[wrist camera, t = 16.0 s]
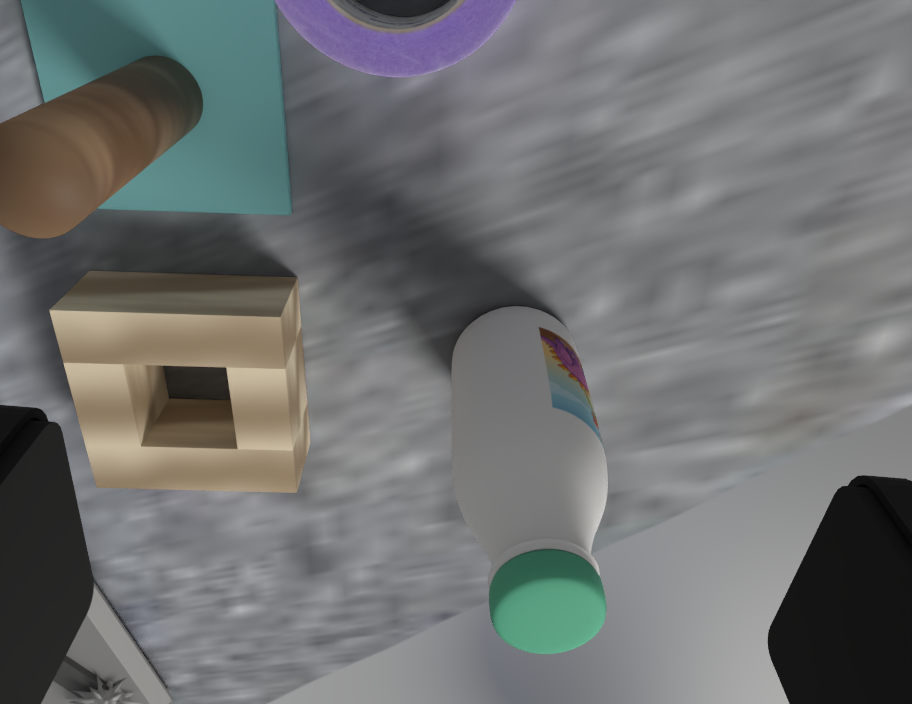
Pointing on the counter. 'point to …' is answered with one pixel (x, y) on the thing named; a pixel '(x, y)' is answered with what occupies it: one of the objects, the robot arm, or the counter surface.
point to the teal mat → (221, 83)
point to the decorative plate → (105, 665)
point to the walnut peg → (91, 143)
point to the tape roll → (395, 33)
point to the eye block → (187, 344)
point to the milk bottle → (530, 476)
